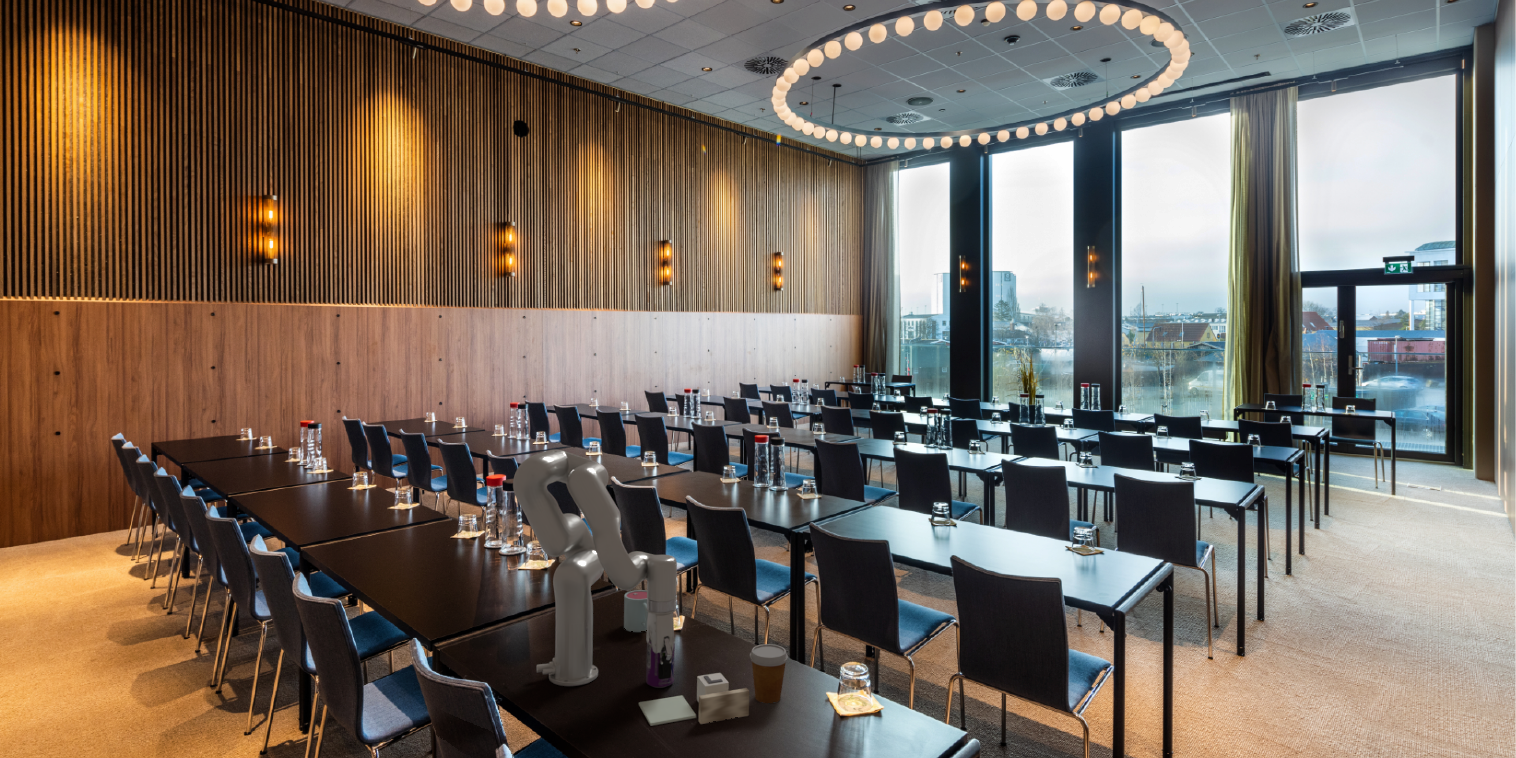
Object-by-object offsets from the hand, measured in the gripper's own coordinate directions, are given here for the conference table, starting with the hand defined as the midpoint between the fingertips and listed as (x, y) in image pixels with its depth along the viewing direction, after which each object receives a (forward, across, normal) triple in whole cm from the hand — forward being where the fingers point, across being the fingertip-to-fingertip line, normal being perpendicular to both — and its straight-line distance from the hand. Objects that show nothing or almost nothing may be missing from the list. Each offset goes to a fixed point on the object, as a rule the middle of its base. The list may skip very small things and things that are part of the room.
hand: (660, 671), depth 198 cm
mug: (+3, -39, +5) cm, 39 cm away
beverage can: (+3, 0, 0) cm, 3 cm away
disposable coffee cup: (+3, +17, +23) cm, 29 cm away
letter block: (+3, +15, +9) cm, 18 cm away
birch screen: (+3, +23, +9) cm, 25 cm away
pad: (+3, +15, -2) cm, 16 cm away
